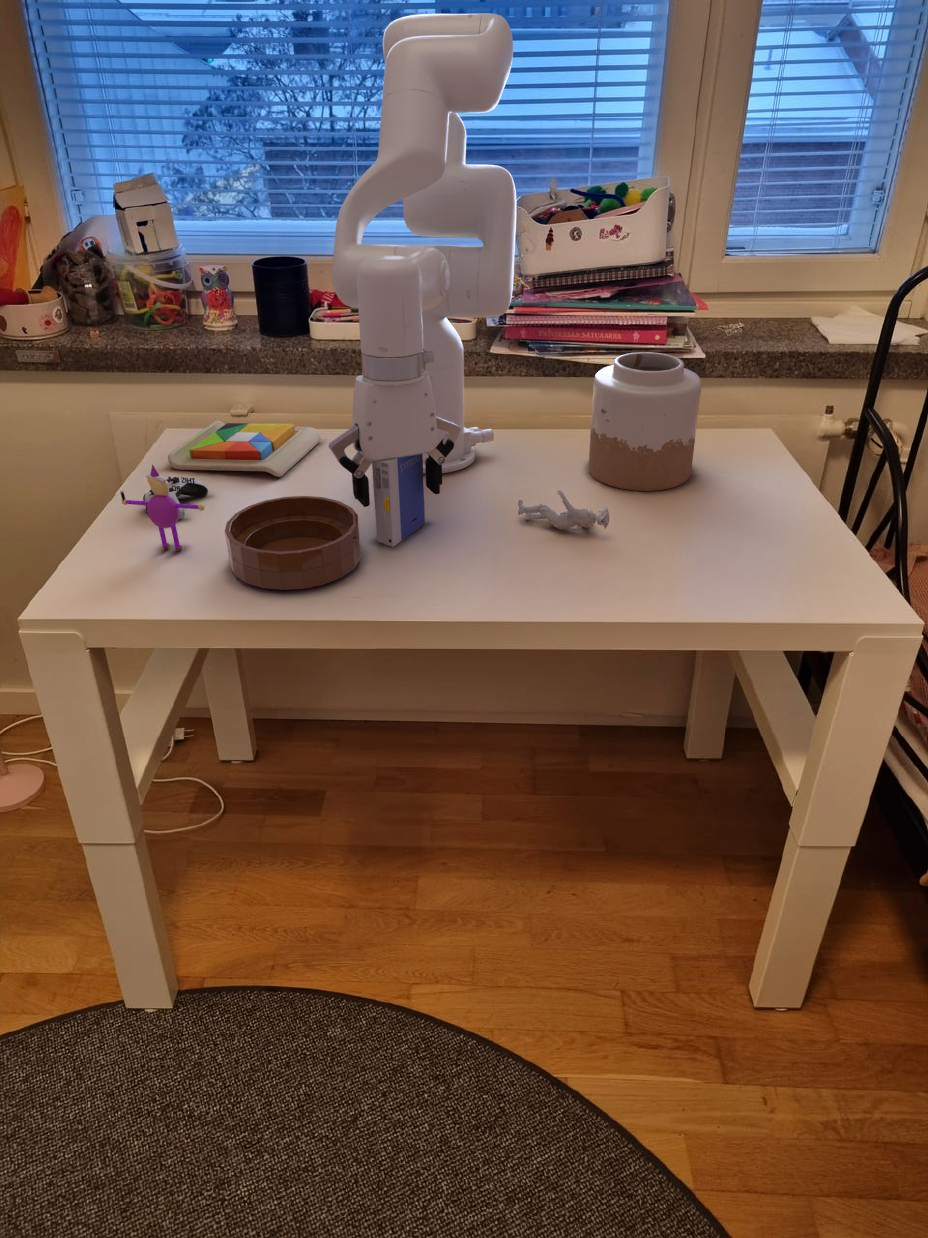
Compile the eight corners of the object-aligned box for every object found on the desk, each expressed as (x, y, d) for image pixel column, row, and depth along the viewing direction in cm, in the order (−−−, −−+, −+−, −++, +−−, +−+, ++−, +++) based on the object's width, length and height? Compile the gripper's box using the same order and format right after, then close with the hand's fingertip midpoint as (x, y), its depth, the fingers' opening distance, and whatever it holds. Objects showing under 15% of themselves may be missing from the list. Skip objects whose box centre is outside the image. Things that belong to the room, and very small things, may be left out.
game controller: (184, 516, 132) (149, 485, 131) (163, 538, 135) (129, 508, 133) (213, 487, 140) (181, 458, 139) (193, 509, 143) (161, 481, 141)
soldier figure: (535, 515, 135) (617, 502, 130) (535, 548, 134) (618, 535, 129) (512, 494, 129) (598, 478, 123) (512, 528, 127) (598, 513, 122)
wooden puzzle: (220, 430, 163) (217, 409, 161) (323, 439, 159) (321, 419, 157) (166, 469, 149) (162, 447, 147) (278, 481, 144) (275, 459, 143)
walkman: (408, 519, 132) (404, 436, 126) (425, 524, 131) (422, 440, 125) (375, 542, 127) (369, 456, 120) (392, 547, 125) (387, 460, 119)
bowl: (338, 524, 131) (334, 487, 129) (378, 576, 119) (376, 536, 116) (219, 548, 126) (212, 509, 123) (248, 605, 113) (242, 564, 110)
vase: (672, 499, 137) (685, 384, 128) (572, 480, 143) (578, 368, 135) (703, 462, 149) (716, 354, 140) (609, 446, 155) (617, 341, 146)
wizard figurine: (216, 549, 126) (202, 462, 119) (206, 560, 123) (191, 472, 117) (136, 542, 128) (118, 456, 121) (124, 553, 125) (105, 466, 119)
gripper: (446, 350, 123) (448, 476, 132) (314, 366, 117) (326, 497, 125) (470, 364, 117) (471, 495, 126) (333, 382, 111) (344, 519, 119)
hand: (398, 496), depth 125 cm, fingers open, 9 cm apart
